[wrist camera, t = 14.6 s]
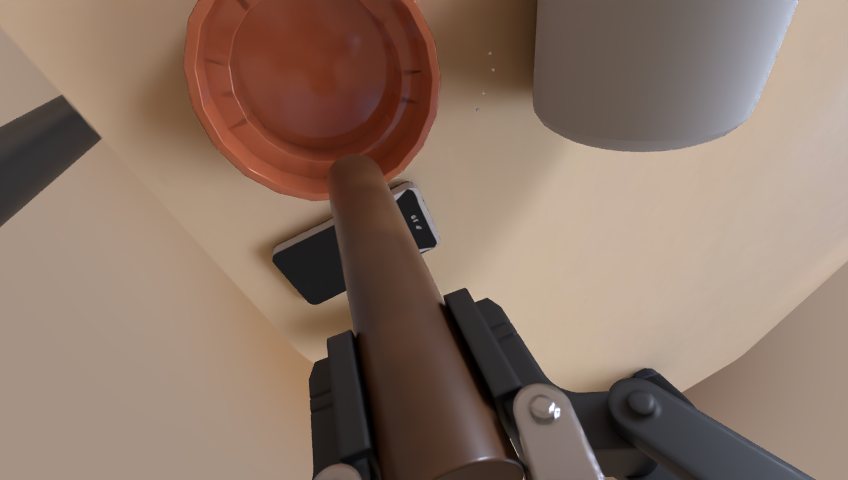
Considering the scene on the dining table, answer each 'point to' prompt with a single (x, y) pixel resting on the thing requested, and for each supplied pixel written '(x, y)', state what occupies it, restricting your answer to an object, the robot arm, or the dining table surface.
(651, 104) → the white oval cylinder
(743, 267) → the dining table surface
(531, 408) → the robot arm
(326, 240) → the smartphone
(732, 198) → the dining table surface
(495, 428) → the stirring stick
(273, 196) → the dining table surface
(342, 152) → the bowl
